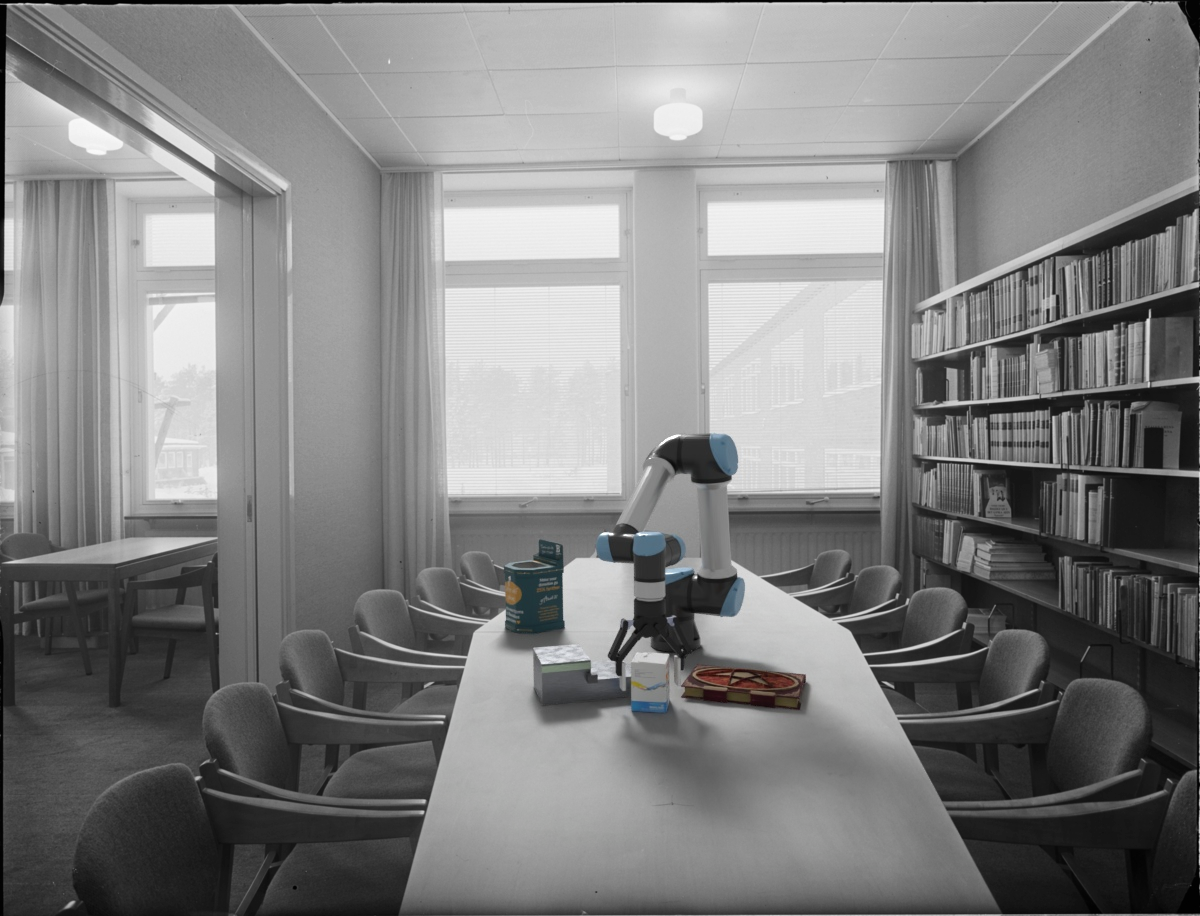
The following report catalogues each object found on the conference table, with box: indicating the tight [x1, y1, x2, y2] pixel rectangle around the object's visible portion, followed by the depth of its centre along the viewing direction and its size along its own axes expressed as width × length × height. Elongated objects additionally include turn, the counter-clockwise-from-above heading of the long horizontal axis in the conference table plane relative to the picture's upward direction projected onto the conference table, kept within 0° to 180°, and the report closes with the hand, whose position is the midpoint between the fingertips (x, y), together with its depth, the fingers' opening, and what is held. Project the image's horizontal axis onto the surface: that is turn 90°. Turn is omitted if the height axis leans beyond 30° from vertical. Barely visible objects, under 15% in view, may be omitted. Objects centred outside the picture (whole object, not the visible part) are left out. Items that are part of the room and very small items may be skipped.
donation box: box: [503, 538, 566, 635], centre depth 250 cm, size 16×16×28 cm
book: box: [680, 664, 807, 711], centre depth 188 cm, size 28×21×5 cm
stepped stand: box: [532, 643, 631, 707], centre depth 187 cm, size 24×16×10 cm
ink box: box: [630, 651, 671, 714], centre depth 178 cm, size 9×8×12 cm
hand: (650, 686), depth 177 cm, fingers open, 13 cm apart
